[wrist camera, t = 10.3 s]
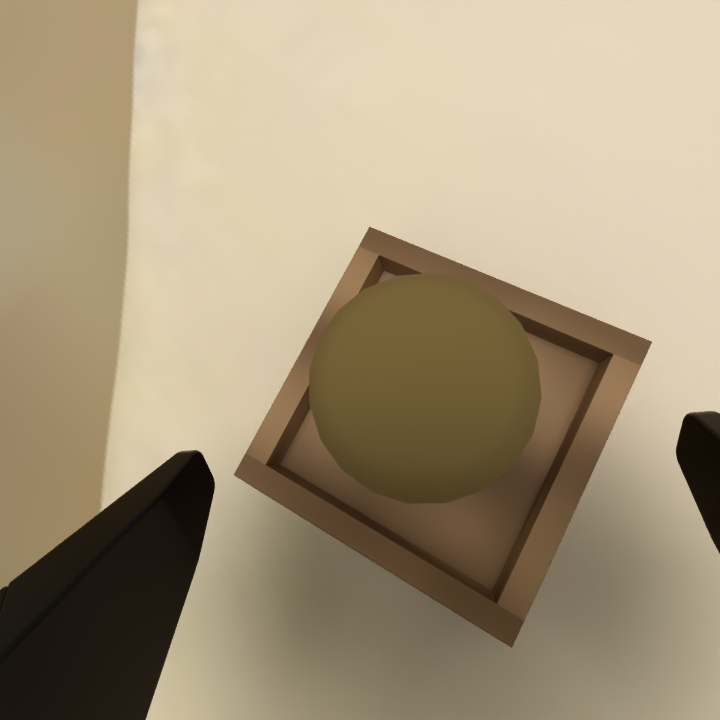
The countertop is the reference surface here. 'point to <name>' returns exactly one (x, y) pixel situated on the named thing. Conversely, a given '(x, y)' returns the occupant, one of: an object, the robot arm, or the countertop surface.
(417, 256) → the walnut tray
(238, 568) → the countertop surface
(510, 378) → the cork
